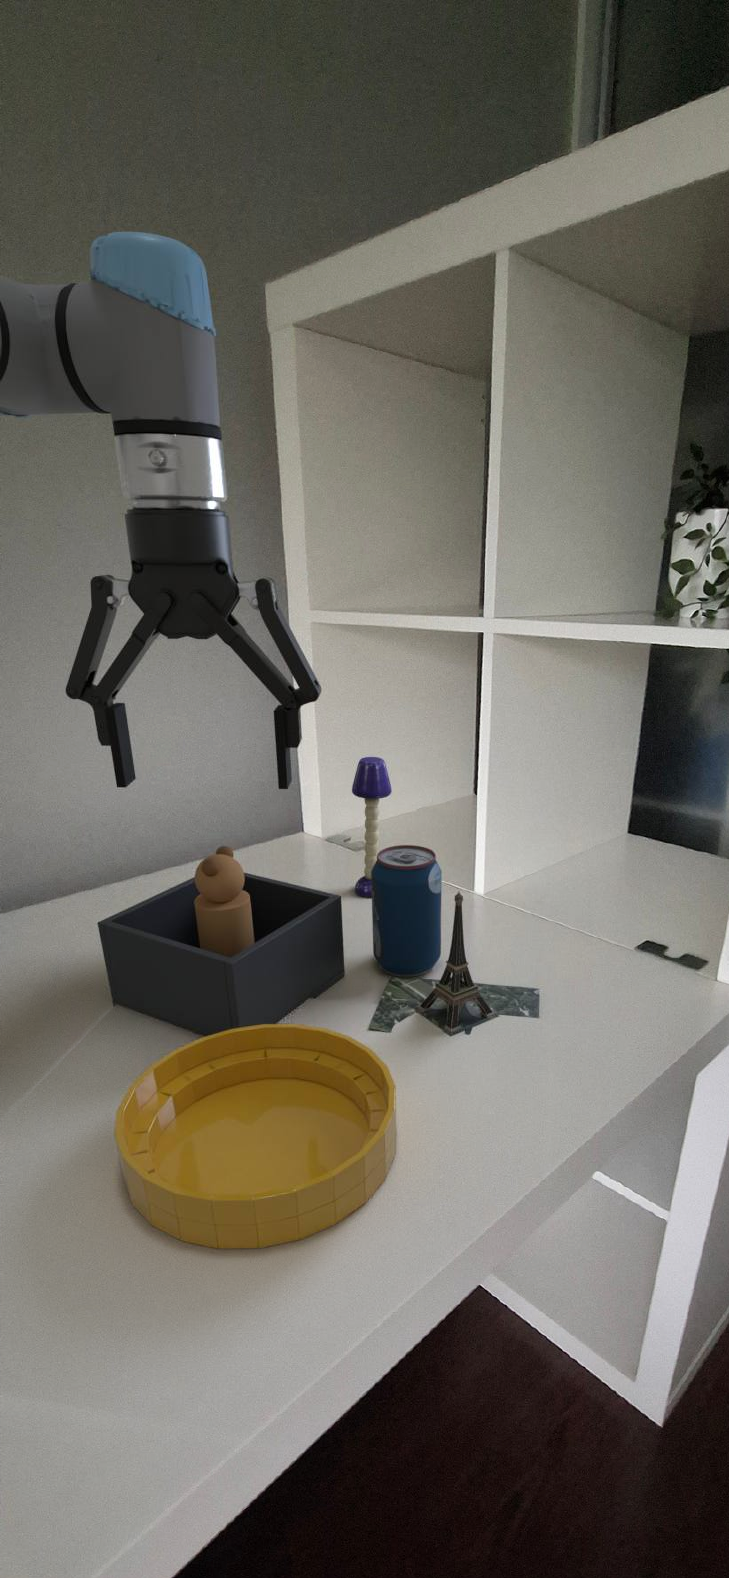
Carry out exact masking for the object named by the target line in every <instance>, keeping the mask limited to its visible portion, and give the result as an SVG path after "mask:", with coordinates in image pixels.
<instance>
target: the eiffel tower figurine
mask: <svg viewBox="0 0 729 1578" xmlns="http://www.w3.org/2000/svg"><path fill="white" fill-rule="evenodd" d="M453 900H454V902H455V903H454V917H453V923H452V924H453V926H452V934H451V941H450V942H451V943H450V949H449V955H448V958H447V960H446V961H445V963H446V966H445V968H444V970H443V973H442V975H441V977H440V979H435V978H422V977H421V978H420V977H419V978H417V977H400V976H390V977H389V978H388V981H387V983H386V986H385V987H384V990H383V993H382V995H381V998H380V999H379V1003H378V1005H377V1007H376V1009H375V1012H374V1014H373V1017H372V1019H371V1021H370V1023H369V1025H368V1029H371V1030H376V1031H381V1032H385V1033H389V1034H390V1033H392V1031H393V1029H394V1027H395V1026H396V1025H398V1024H399V1023H401V1022H402V1021H404V1020H406V1019H407V1018H410V1017H411V1016H413V1015H414V1014H419V1015H420V1016H421V1017H423V1018H424V1019H426V1020H427V1021H428V1022H430V1023H431V1024H433V1025H434V1026H435V1027H437V1028H438V1029H439V1030H440V1031H442V1032H443V1033H445V1034H446V1035H447V1036H449V1037H450V1038H451V1037H453V1036H456V1035H458V1034H461V1033H464V1035H467V1036H470V1035H471V1034H472V1031H473V1028H475V1027H478V1026H480V1025H482V1024H484V1023H486V1022H489V1021H491V1020H494V1019H497V1018H498V1017H500V1016H508V1017H519V1018H531V1019H540V991H541V990H540V988H535V987H527V986H512V985H502V984H501V985H499V984H489V983H479V982H474V981H473V979H472V975H471V973H470V970H469V962H468V961H467V957H466V951H465V950H466V949H465V940H464V939H465V938H464V921H463V901H464V895H462V894H461V892H457V893H456V894H455V895H454V898H453Z"/></svg>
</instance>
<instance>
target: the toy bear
mask: <svg viewBox="0 0 729 1578" xmlns="http://www.w3.org/2000/svg"><path fill="white" fill-rule="evenodd" d="M234 854H235V853H234V851H233V849H232V848H231V847H230V846H228V845H221V846H219V847H218V848H217V849H216V851H215V854H212V855H209V856H206V857H205V858H204V859H203V860H201V862H200V863H199V864H198V865H197V867H196V870H195V873H194V877H195V884H196V887H197V889H198V891H199V892H200V895H199V896H197V897H196V898H195V901H194V904H195V912H196V919H197V927H198V934H199V942H200V949H203V950H206V951H210V952H213V953H216V954H220V955H223V956H226V957H229V958H231V957H233V956H235V955H236V954H238V953H240V952H241V951H243V950H244V949H246V948H248V947H249V946H251V945H253V944H254V943H255V942H254V932H253V922H252V912H251V902H250V895H249V894H248V893H247V892H246V891H243V890H242V888H243V886H244V881H245V876H244V873H245V872H244V869H243V867H242V866H241V864H240V863H239V861H238V860H236V858H234Z"/></svg>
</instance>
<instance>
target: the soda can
mask: <svg viewBox="0 0 729 1578" xmlns="http://www.w3.org/2000/svg"><path fill="white" fill-rule="evenodd" d="M442 873H443V872H442V868H441V867H440V865H439V863H438V861H437V855H436V853H435V852H434V850H432V849H431V848H428V847H425V846H420V845H412V844H401V845H400V844H399V845H393V846H388V847H386V848H383V849H381V850H380V851H378V853H377V861H376V863H375V865H374V867H373V869H372V871H371V885H372V897H371V916H372V917H371V919H372V951H373V952H372V953H373V957H374V959H375V961H376V962H377V964H378V966H380V968H381V970H383V971H384V972H385V973H387V974H389V975H392V976H394V977H402V978H415V977H419V976H423V975H425V974H427V973H429V972H431V970H432V969H434V967H435V966H436V964H437V962H438V961H439V959H440V957H441V953H442V883H443V882H442V878H443V875H442Z"/></svg>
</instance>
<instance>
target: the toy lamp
mask: <svg viewBox="0 0 729 1578" xmlns="http://www.w3.org/2000/svg"><path fill="white" fill-rule="evenodd" d="M392 792H393V791H392V783H391V780H390V776H389V773H388V769H387V764H386V761H385V760H384V758H381V757H377V756H365V757H362V758H360V759H359V761H358V763H357V765H356V771H355V775H354V777H353V782H352V786H351V794H353V795H354V796H355V797H357V798H361V799H364V805H365V808H364V816H365V820H364V828H365V832H364V842H365V844H364V847H363V848H364V853H365V855H364V865H365V867H364V871H363V872H364V875H363V876H361V877H360V878H359V879H358V880H357V881H356V883H355V884H354V885H355V886H354V892H355V894H357V895H358V896H361V897H364V898H372V885H371V871H372V869H373V867H374V865H375V863H376V861H377V854H378V853H379V852H380V851H379V850H380V846H379V840H380V833H379V827H380V820H379V816H380V807H379V804H380V799H384V798H387V797H389V796H390V795H392Z"/></svg>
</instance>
